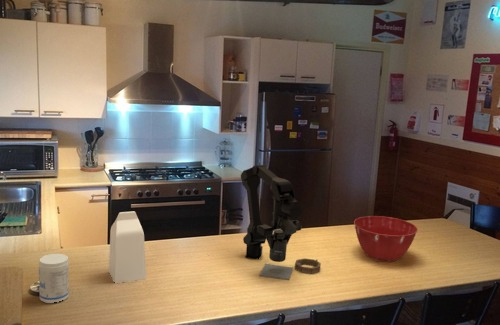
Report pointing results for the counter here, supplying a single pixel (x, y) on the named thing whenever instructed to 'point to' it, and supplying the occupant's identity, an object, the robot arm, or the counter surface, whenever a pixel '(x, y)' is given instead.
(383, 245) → the mixing bowl
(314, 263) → the walnut collar
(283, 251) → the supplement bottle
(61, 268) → the supplement tub
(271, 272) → the rubber mat
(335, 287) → the counter surface
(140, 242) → the milk
